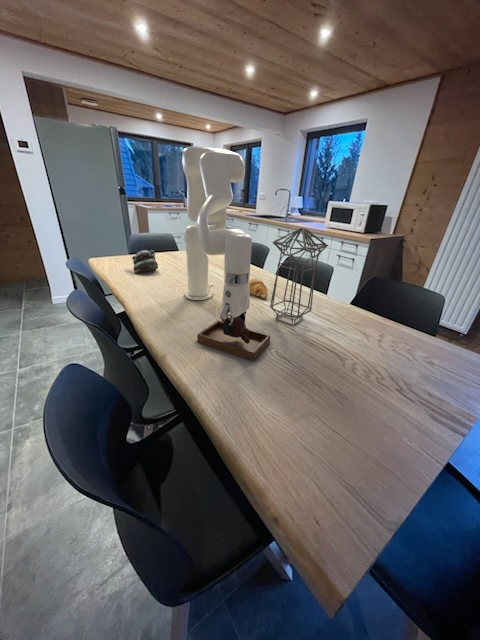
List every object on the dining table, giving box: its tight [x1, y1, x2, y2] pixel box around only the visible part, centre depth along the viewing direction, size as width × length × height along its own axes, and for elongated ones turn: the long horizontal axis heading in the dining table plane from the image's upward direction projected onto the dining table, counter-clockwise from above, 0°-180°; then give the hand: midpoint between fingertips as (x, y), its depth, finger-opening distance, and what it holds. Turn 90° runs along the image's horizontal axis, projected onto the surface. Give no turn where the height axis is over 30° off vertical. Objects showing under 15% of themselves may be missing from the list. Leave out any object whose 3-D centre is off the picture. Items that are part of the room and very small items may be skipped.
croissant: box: [249, 278, 268, 299], centre depth 131 cm, size 21×10×8 cm, turn 26°
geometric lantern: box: [269, 227, 329, 326], centre depth 98 cm, size 16×16×35 cm
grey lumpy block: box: [131, 248, 159, 274], centre depth 155 cm, size 15×12×14 cm
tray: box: [196, 319, 271, 362], centre depth 87 cm, size 13×21×3 cm, turn 62°
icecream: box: [227, 316, 250, 344], centre depth 85 cm, size 7×7×15 cm
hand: (234, 329), depth 86 cm, fingers closed on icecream, 7 cm apart
